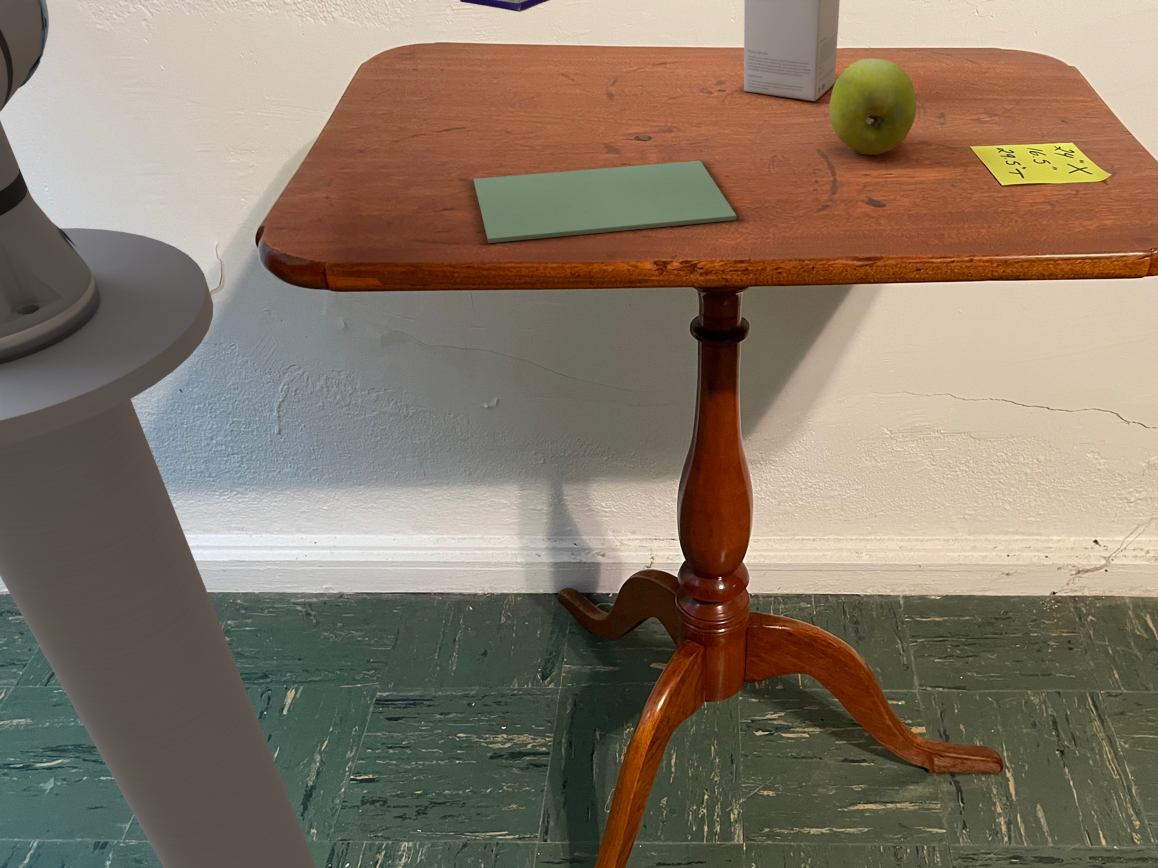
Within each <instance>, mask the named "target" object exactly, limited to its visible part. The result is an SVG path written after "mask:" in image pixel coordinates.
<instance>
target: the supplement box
mask: <svg viewBox="0 0 1158 868" xmlns="http://www.w3.org/2000/svg"><path fill="white" fill-rule="evenodd" d="M459 1H460V3H464V4H472V5H477V6H483V7H489V8H490V7H491V8H496V9H502V10H506V11H514V12H519V13H521V12H524V11H527V10H529V9H532V8H533V7H537V6H539V5H541V4H543V3H546V2H549V1H550V0H459Z"/></svg>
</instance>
